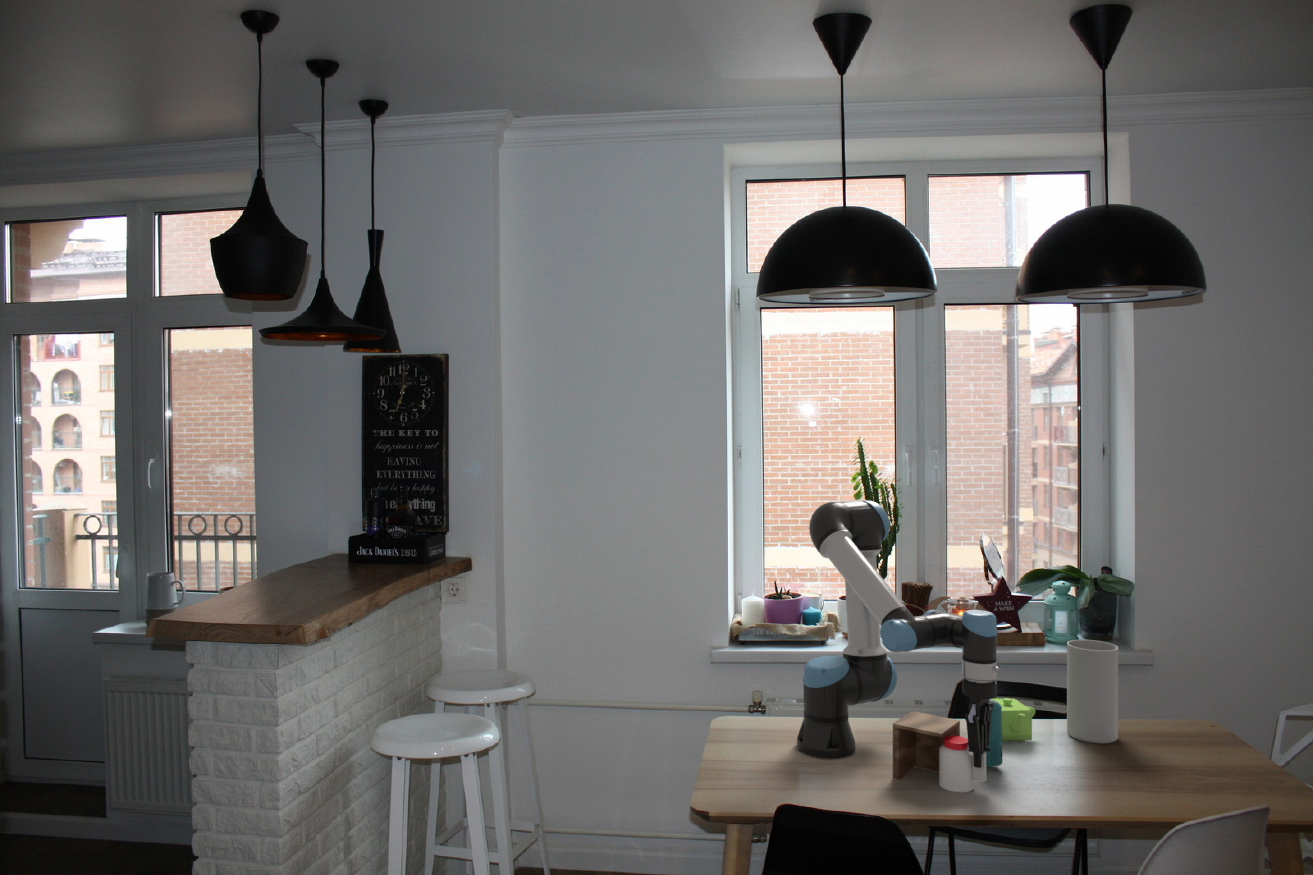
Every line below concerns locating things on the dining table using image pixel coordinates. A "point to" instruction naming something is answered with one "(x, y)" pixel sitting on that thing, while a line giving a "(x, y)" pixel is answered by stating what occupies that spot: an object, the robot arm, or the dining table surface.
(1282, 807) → the dining table surface
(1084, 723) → the cylinder vase
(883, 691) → the robot arm
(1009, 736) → the teapot
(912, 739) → the awning shelf
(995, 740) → the beverage bottle
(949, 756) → the pill bottle
